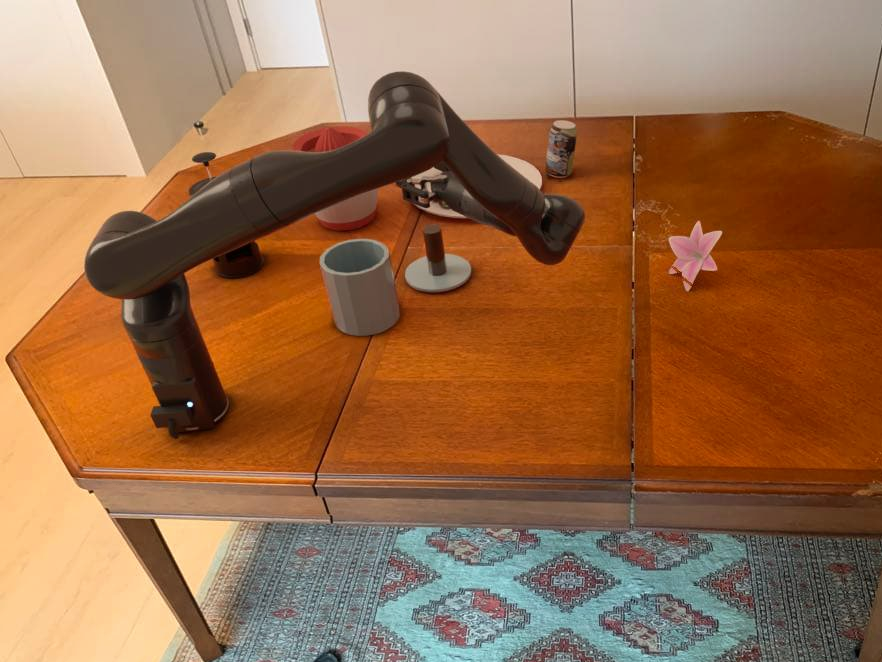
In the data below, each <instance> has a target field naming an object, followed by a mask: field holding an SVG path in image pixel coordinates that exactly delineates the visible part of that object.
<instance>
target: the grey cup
mask: <svg viewBox="0 0 882 662" xmlns="http://www.w3.org/2000/svg"><path fill="white" fill-rule="evenodd" d="M392 264H393V263H392V260H391V254H390V249H389V248H388V247H387V246H386V244H384V243H383V242H381V241H378V240H376V239H372V238H354V239H347V240H344V241H340V242H337V243H335V244H334V245H331V246H330V247H328V248H326V249H325V250H324V252H323V253H322V254H321V255H320V257H319V268H320V271H321V274H322V279H323V284H324V287H325V290H326V295H327V299H328V303H329V306H330V311H331V315H332V318H333V322H334V324H335V326H336V328H337V329H338V330H339V331H340V332H342V333H345V334H346V335H349V336H355V337H356V336H357V337H366V336H373V335H376V334H377V335H378V334H380V333H383V332H384V331H386V330H389V329H390V328H391V327H393V326H394V325H395V324H396V323H397V322H398V320H399V319H400V316H401V310H400V309H401V307H400V302H399V297H398V291H397V287H396V285H397V284H396V281H395V275H394V270H393V265H392Z"/></svg>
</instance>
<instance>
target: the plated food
mask: <svg viewBox="0 0 882 662" xmlns="http://www.w3.org/2000/svg"><path fill="white" fill-rule="evenodd" d="M496 154H497V155H498V156H499V157H501V158H502V159H503V160H504V161H505V162H507V163H508V164H509V165H510V166H511V167H513V168H514V169H515V170H516V171H518V172H519V173H520V174H522V175H523V176H524V177H525V178H527V179H528V180H529V181H530V182H532V183H533V184H534V185H535V186H537V187H538V188H539V189H540V190H541V188H542V186H543V177H542V175H541V172H540V171H539V170H538V168H536V166H535V165H533V164H531V163H529V162H528V161H526V160H524V159H522V158H521V159H520V158H518V157H514V156H510V155H506V154H500V153H496ZM441 173H442V171H440V170H437V169H435V168H434V167H433V168H431V169H430V170H428V171H426V172H423V173H421V174H419V175H416V176H413V177H411V178H412V179H421V178H422V176H437V175H440V174H441ZM426 183H427V190H428V191H429V192H432V191H431V185H430V182H426ZM415 187H417V188H419V189H421V186H420V185H415ZM413 205H414V206H415V207H417V208H418V209H420V210H422V211H424V212H426V213H428V214H432V215H436V216H439V217H445V218H453V219H469V218H468V217H466V216H463V215H461V214H459V213H457V212H455V211H453V210H451V209H450V208H449V206H448V205H447V204H446V203H445V202H444V201H438V200H433V201H431V202H430V207H429V208H423V207H421V206H418V205H416V204H413Z"/></svg>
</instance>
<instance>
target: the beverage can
mask: <svg viewBox="0 0 882 662" xmlns="http://www.w3.org/2000/svg"><path fill="white" fill-rule="evenodd" d="M576 126H577V125H576V123H574V122H572V121H571V120H570V121H569V120H566V119H565V120H564V119H557V120H555V121H553V124H552V125H551V126H550V128H549V135H548V142H547V143H548V144H547V151H546V158H545V159H546V160H545V168H544V170H545V172H546V173H547V174H548V175H549V176H550V177H552V178H557V179H564V178H567V177H568V176H571V174H572V172H573V165H574V159H575V151H576V145H577V138H578V130H577V127H576Z"/></svg>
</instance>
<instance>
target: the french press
mask: <svg viewBox="0 0 882 662" xmlns="http://www.w3.org/2000/svg"><path fill="white" fill-rule="evenodd" d="M216 158H217V153H215V152H212V151H204V152H200V153H197V154H195V155H193V156H192V158H191V161H192V162H193V163H195V164H196V163H197V164H203V166H204V168H206V172H207V173H208V177H207V178H204V179H201V180H199V181H197V182H195V183H194V184H192V185H190V186H191V187H189V188H188V195H189V196H190V197H191V196H193V195H194V194H195V193H196V192H198V191H199V190H200V189H201V188H202V187H204V186H205V185H206V184H207V183H209V182H210V181H211V180H213V179H214V178H216V177H217V176H212V174H211V171H210V168H209V167H210V162H211V161H214V160H215V159H216ZM241 256H242V257H243V256H247V258H245V259H242V260H240V261H235V262H229V260H231V259H233V258H236V257H241ZM248 256H249V257H248ZM212 262H213V264H214V271H215V274H217V276H219V277H221V278H223V279H231V280H232V279H234V280H235V279H242V278H245V277H248V276H252V275H254V274H256V273H257V272H258V271H260V270H261V269H262V268H263V266H264V264H265V259H264V257H263V255H262V253H261V250H260V247H259V244H258V243H257V242H256V240H255V241H252V242H250V243H248V244H246V245H244V246H241V247H239V248H237V249H235V250H233V251H230V252H228V253H226V254H223V255H221V256H218V257H216V258H214V259H212Z"/></svg>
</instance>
